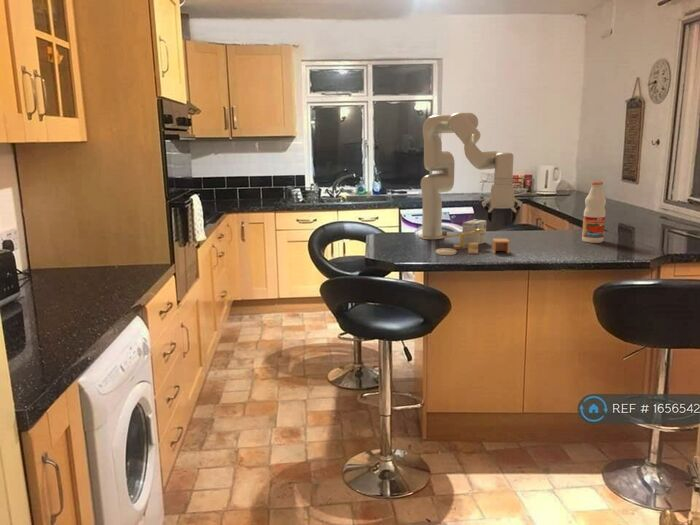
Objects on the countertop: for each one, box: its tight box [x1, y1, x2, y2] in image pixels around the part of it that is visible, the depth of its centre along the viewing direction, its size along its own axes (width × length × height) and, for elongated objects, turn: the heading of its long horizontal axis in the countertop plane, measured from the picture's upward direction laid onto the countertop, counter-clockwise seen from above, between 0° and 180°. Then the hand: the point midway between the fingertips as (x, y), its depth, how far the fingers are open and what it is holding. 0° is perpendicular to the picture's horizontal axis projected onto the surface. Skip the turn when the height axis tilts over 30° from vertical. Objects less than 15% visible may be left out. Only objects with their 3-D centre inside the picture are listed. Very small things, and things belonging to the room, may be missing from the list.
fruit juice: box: [581, 181, 607, 244], centre depth 272 cm, size 9×9×28 cm
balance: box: [440, 228, 484, 250], centre depth 266 cm, size 5×20×9 cm, turn 86°
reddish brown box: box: [491, 238, 510, 255], centre depth 256 cm, size 6×6×5 cm
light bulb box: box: [462, 218, 487, 245], centre depth 274 cm, size 11×7×11 cm, turn 135°
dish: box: [435, 247, 457, 256], centre depth 256 cm, size 9×9×1 cm
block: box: [467, 243, 479, 254], centre depth 257 cm, size 4×4×4 cm
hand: (501, 221), depth 254 cm, fingers open, 9 cm apart
